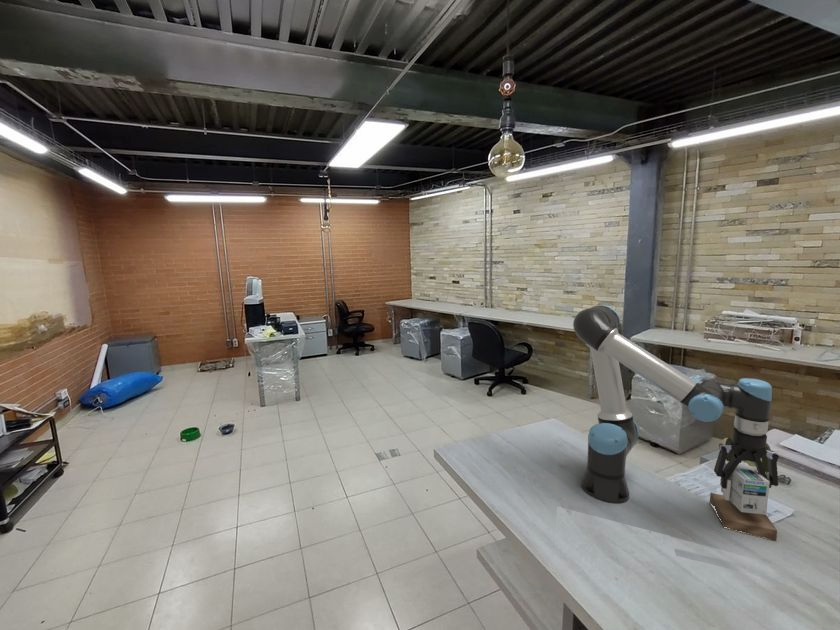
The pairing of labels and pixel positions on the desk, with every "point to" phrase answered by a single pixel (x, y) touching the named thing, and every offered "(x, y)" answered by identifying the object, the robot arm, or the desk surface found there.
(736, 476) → the light bulb box
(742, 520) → the walnut block
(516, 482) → the desk surface
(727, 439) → the cannon
